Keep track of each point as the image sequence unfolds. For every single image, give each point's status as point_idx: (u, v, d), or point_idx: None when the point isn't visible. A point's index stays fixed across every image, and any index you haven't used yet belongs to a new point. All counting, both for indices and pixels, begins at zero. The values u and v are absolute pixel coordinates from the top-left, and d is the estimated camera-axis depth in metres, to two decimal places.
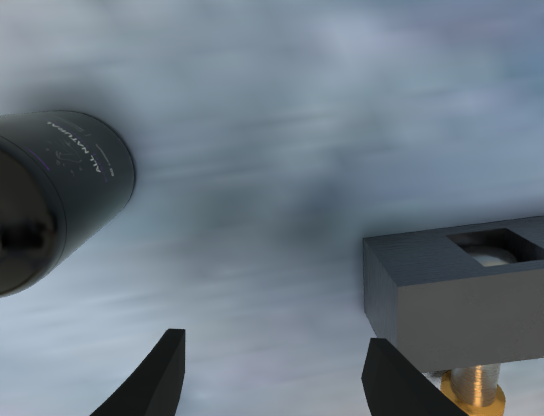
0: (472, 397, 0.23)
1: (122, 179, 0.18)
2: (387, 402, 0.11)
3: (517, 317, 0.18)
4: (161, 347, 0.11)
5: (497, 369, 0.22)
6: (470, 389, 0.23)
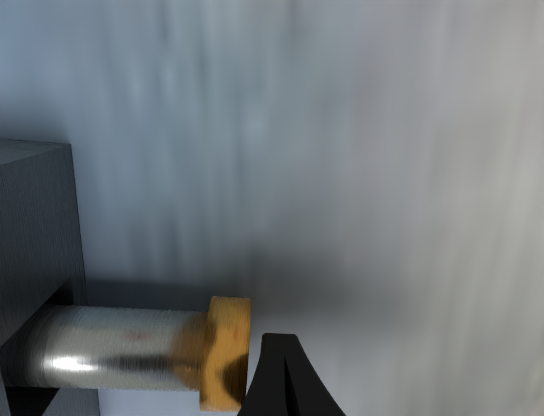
0: (181, 390, 0.12)
1: None
2: None
3: None
4: (269, 351, 0.11)
5: (109, 358, 0.11)
6: (164, 390, 0.12)
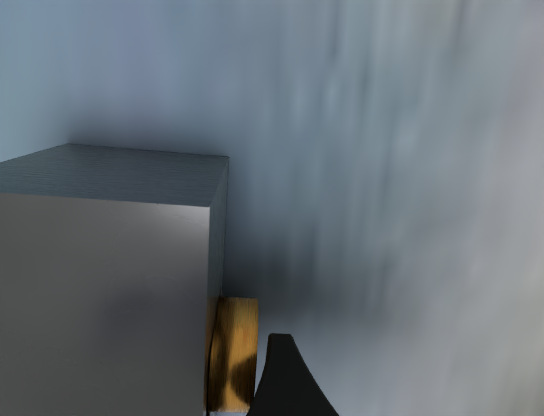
0: None
1: None
2: None
3: None
4: (276, 352, 0.11)
5: None
6: None
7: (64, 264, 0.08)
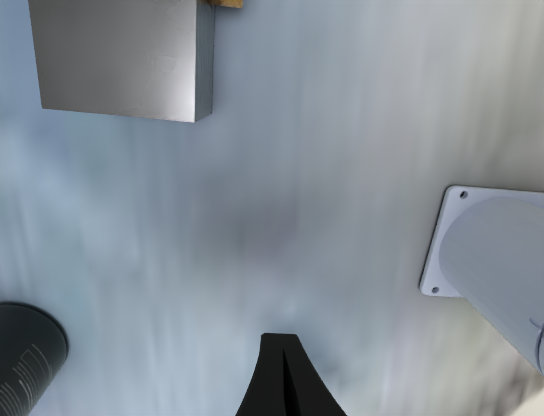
0: None
1: None
2: (284, 399, 0.11)
3: None
4: (268, 351, 0.11)
5: None
6: None
7: None
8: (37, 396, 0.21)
